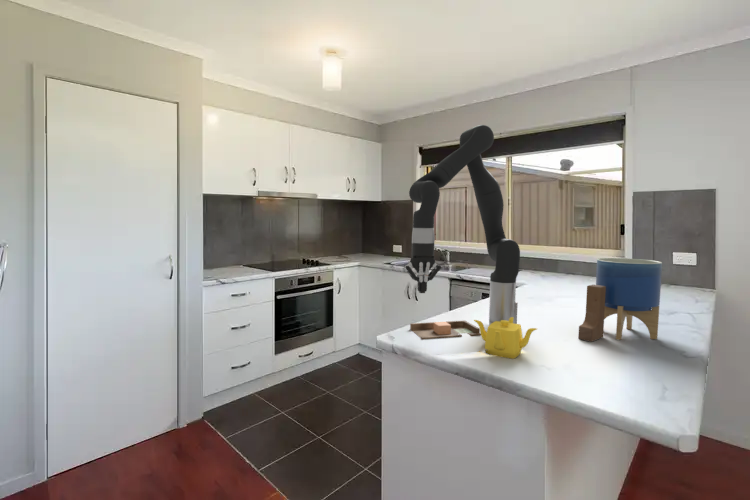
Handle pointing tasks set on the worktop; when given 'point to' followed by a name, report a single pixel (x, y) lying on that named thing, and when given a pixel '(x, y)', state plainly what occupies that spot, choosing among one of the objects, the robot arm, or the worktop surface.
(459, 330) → the box
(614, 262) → the planter
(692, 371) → the worktop surface
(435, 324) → the block
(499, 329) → the teapot
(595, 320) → the wooden block
